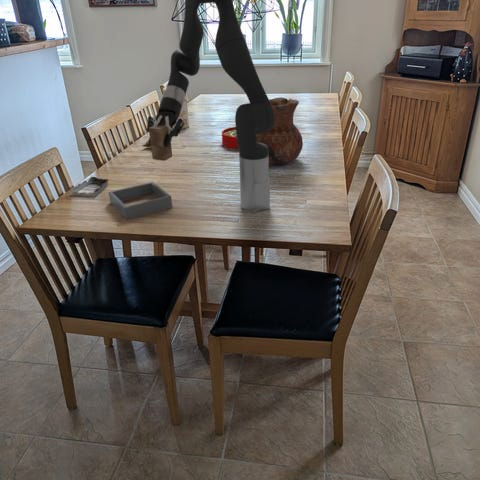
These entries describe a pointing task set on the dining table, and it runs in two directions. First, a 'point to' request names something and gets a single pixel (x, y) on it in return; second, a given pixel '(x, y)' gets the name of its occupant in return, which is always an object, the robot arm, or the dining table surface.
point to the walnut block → (159, 143)
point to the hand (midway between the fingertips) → (158, 145)
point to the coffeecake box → (183, 112)
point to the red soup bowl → (229, 138)
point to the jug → (282, 133)
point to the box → (143, 207)
